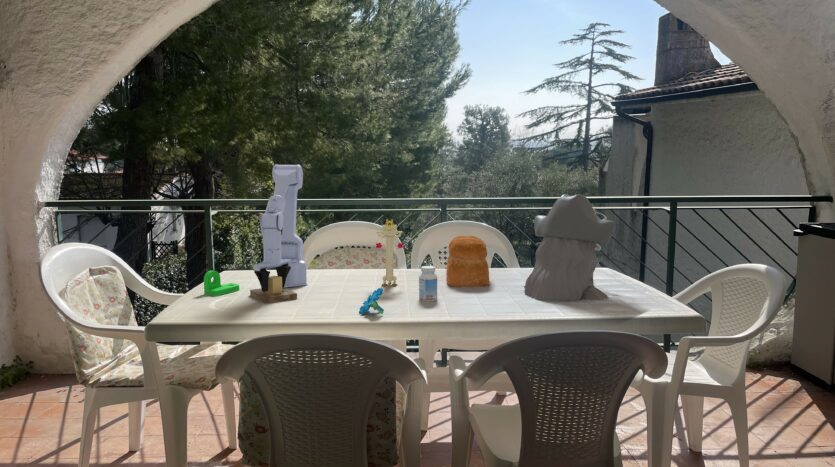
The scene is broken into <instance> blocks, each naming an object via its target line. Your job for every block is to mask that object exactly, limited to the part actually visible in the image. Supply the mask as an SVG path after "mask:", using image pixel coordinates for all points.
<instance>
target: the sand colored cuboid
mask: <svg viewBox="0 0 835 467" xmlns="http://www.w3.org/2000/svg"><path fill="white" fill-rule="evenodd" d="M265 293H266V294H274V293H282V277H280V276H277V275H269V279H268V291H265Z"/></svg>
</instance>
